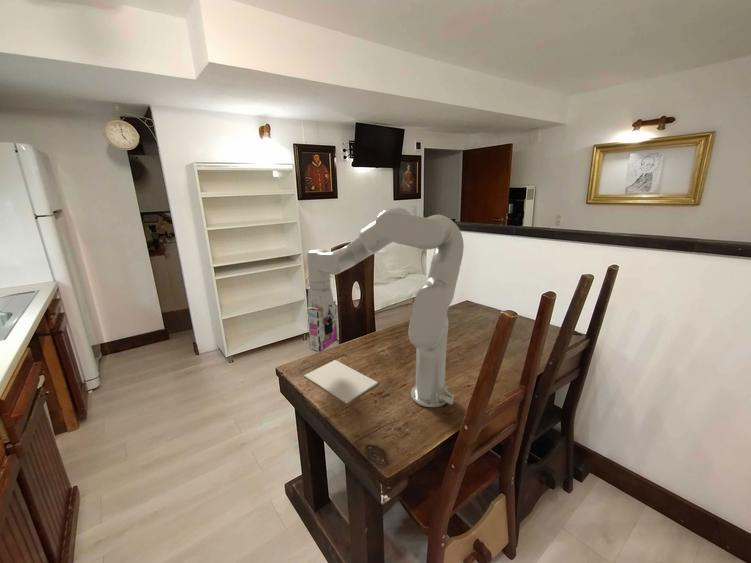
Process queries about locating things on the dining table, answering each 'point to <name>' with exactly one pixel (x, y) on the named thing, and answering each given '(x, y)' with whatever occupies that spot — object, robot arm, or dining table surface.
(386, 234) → the robot arm
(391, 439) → the dining table surface
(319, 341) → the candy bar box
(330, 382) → the mat
